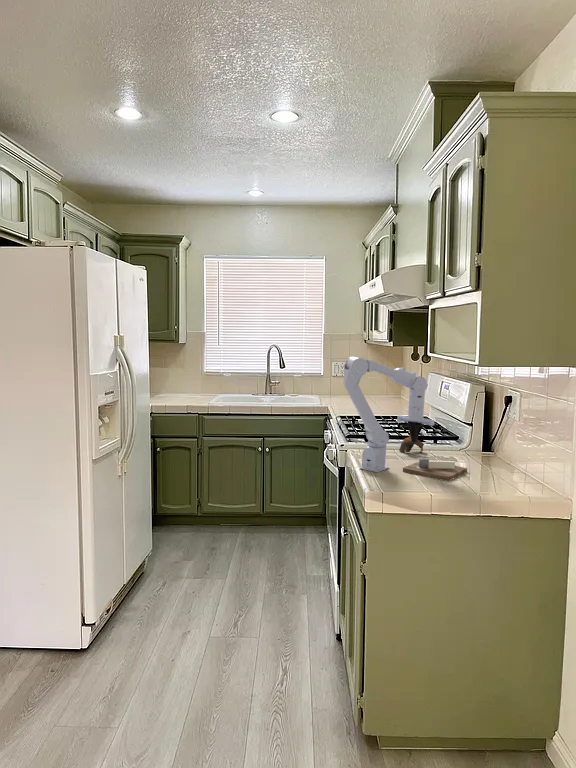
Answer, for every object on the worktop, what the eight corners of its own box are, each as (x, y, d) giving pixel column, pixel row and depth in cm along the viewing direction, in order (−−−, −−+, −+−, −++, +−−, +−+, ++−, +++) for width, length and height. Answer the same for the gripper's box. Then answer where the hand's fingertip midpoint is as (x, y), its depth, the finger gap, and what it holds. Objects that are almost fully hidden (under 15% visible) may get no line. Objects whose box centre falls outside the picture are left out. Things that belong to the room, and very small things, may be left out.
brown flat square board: (448, 481, 204) (448, 476, 204) (402, 471, 215) (402, 467, 215) (467, 471, 218) (467, 467, 218) (423, 463, 229) (423, 459, 229)
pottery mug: (399, 449, 255) (409, 434, 254) (417, 461, 251) (427, 446, 251) (394, 448, 244) (405, 432, 243) (413, 460, 240) (424, 444, 240)
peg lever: (420, 468, 213) (420, 460, 213) (417, 465, 217) (418, 458, 216) (455, 469, 213) (455, 461, 213) (452, 466, 217) (452, 458, 217)
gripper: (438, 407, 217) (436, 442, 219) (403, 403, 226) (402, 437, 228) (430, 409, 212) (428, 445, 213) (395, 405, 221) (393, 439, 222)
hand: (414, 441), depth 220 cm, fingers closed
